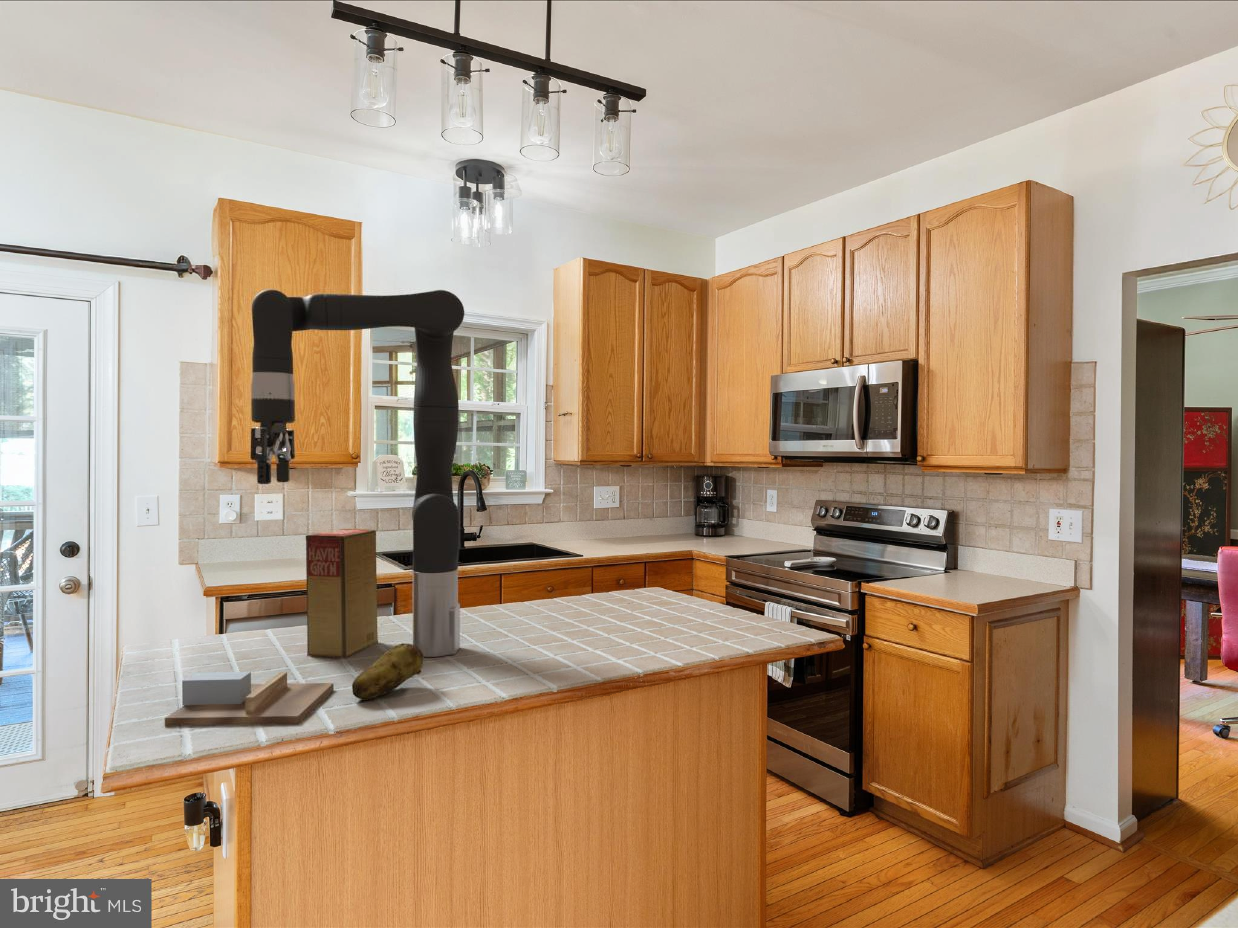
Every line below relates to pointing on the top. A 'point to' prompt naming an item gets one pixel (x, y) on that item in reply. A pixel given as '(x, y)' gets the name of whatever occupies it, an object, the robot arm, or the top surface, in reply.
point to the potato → (388, 671)
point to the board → (258, 705)
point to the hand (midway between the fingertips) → (274, 482)
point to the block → (216, 688)
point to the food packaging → (341, 592)
